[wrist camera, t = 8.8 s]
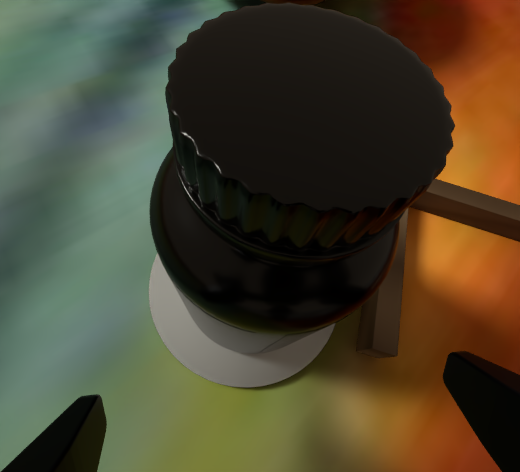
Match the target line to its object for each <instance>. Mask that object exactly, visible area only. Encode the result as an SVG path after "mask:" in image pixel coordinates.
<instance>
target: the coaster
mask: <svg viewBox="0 0 520 472" xmlns="http://www.w3.org/2000/svg"><path fill="white" fill-rule="evenodd" d="M149 302H150V309H151V313H152V318H153V321H154V324H155V326H156V329H157V331H158V333H159V335H160V337H161V339H162V341H163V342H164V344H165V345H166V347H167V348H168V349H169V351H170V352H171V353H172V354H173V355H174V356H175V357H176V358H177V359H178V360H179V361H180V362H181V363H182V364H183V365H184V366H186V367H187V368H188V369H190V370H191V371H192V372H194V373H196V374H197V375H199V376H201V377H203V378H205V379H207V380H210V381H213V382H216V383H218V384H222V385H227V386H232V387H248V388H249V387H258V386H265V385H269V384H273V383H277V382H279V381H281V380H284V379H286V378H289V377H290V376H292V375H294V374H296V373H297V372H299V371H301V370H302V369H303V368H304V367H306V366H307V365H308V364H309V363H310V362H312V360H313V359H314V358H315V357H316V356H317V355H318V354H319V353H320V352H321V350H322V349H323V347H324V346H325V344H326V343H327V341H328V340H329V338H330V336H331V333H332V331H333V329H334V326H335V323H334V324H332V325H330V326H328V327H326V328H324V329H322V330H319V331H317V332H315V333H313V334H311V335H309V336H307V337H304V338H302V339H300V340H298V341H296V342H294V343H292V344H289V345H287V346H285V347H283V348H280V349H277V350H274V351H271V352H267V353H260V354H246V353H239V352H235V351H232V350H229V349H226V348H224V347H222V346H220V345H218V344H217V343H215V342H213V341H212V340H211V339H209V338H208V337H207V336H206V335H205V334H204V333H203V332H202V331H201V330H200V329H199V328H198V326H197V325H196V323H195V322H194V320H193V319H192V317H191V316H190V314H189V312H188V310H187V308H186V307H185V305H184V303H183V301H182V299H181V297H180V296H179V294H178V292H177V290H176V288H175V287H174V285H173V283H172V281H171V279H170V278H169V276H168V274H167V272H166V270H165V268H164V267H163V265H162V262H161V260H160V257H159V255H158V253H157V255H156V258H155V261H154V264H153V266H152V271H151V276H150V282H149Z"/></svg>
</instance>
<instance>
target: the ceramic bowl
mask: <svg viewBox="0 0 520 472" xmlns="http://www.w3.org/2000/svg"><path fill="white" fill-rule="evenodd" d="M261 1H264V2H267V3H275V4H281V3H288V2H290V3H295V4H299V5H315V4H318V3H320V2H323V1H324V0H261Z"/></svg>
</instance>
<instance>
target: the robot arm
mask: <svg viewBox="0 0 520 472" xmlns="http://www.w3.org/2000/svg"><path fill="white" fill-rule="evenodd" d="M443 380H444V383H445V385H446V387H447V389H448V390H449V392H450V394H451V395H452V397H453V398H454V400H455V402H456V403H457V405H458V406H459V408H460V410H461V411H462V413H463V415H464V416H465V418H466V419H467V421H468V423H469V424H470V426H471V427H472V429H473V431H474V432H475V434H476V435H477V437H478V438H479V440H480V442H481V443H482V445H483V446H484V447H485V449H486V450H487V452H488V453H489V454H490V456H491V457H492V459H493V460H494V461H495V463H496V464H497V465H498V467H499V468H500V470H501V471H502V472H520V375H518V374H516V373H514V372H512V371H509V370H507V369H505V368H503V367H501V366H498V365H496V364H494V363H492V362H489V361H487V360H485V359H483V358H481V357H478V356H476V355H474V354H472V353H469V352H467V351H457V352H451V353H450V354H449V355H448V358H447V361H446V365H445V369H444V373H443ZM106 425H107V423H106V416H105V412H104V407H103V402H102V398H101V396H100V395H97V394H96V395H87V396H82V397H79V398H78V399H77V400H76V401H75V402H74V403H72V404H71V405H70V406H69V407H68V408H67V409H66V410H65V411H64V412H63V413H62V414H61V415H60V416H59V417H58V418H57V419H56V420H55V421H54V422H53V423H51V424H50V425H49V426H48V427H47V428H46V429H45V430H44V431H43V432H42V433H41V434H40V435H39V436H38V437H37V438H36V439H35V440H34V441H33V442H32V443H30V444H29V445H28V446H27V447H26V448H25V449H24V450H23V451H22V452H21V453H20V454H19V455H18V456H17V457H16V458H15V459H14V460H13V461H12V462H11V463H9V464H8V465H7V466H6V467H5V468H4V469H3V470H2V471H1V472H97V470H98V465H99V461H100V456H101V451H102V447H103V442H104V438H105V433H106Z"/></svg>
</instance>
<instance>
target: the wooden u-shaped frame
mask: <svg viewBox="0 0 520 472" xmlns="http://www.w3.org/2000/svg"><path fill="white" fill-rule="evenodd" d="M410 207H413V208H416V209H419V210H422V211H425V212H429V213H432V214H435V215H438V216H441V217H444V218H448V219H451V220H454V221H457V222H460V223H463V224H467V225H470V226H473V227H476V228H479V229H482V230H485V231H489V232H492V233H495V234H498V235H501V236H504V237H508V238H511V239H514V240H517V241H520V205H517V204H514V203H511V202H508V201H504V200H501V199H498V198H495V197H492V196H488V195H485V194H482V193H479V192H476V191H473V190H469V189H466V188H463V187H460V186H457V185H454V184H450V183H447V182H444V181H441V180H438V179H434V180H433V181H432V183H431V185H430V186H429V188H428V189H427V191H426V192H425V193H424V194H423V195H422V196H421V197H419V198H418V199H417V200H416V201H415V202H414V203H413V204H412V205H411V206H410ZM407 219H408V208H407V209H406V211H405V212H404V214H403V216H402V217H401V219H400V231H399V240H398V246H397V250H396V254H395V257H394V260H393V263H392V266H391V268H390V270H389V272H388V274H387V276H386V278H385V279H384V281H383V282H382V284H381V285H380V287H379V288H378V289H377V291H376V292H375V293H374V294H373V295H372V297H371V298H369V299H368V300H367V301H366V302H365V303H364V304H363V305H362V311H361V319H360V326H359V334H358V341H357V349H356V351H358V352H361V353H364V354H367V355H370V356H373V357H376V358H385V357H395V356H397V354H398V340H399V327H400V313H401V300H402V287H403V273H404V260H405V246H406V233H407Z"/></svg>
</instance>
